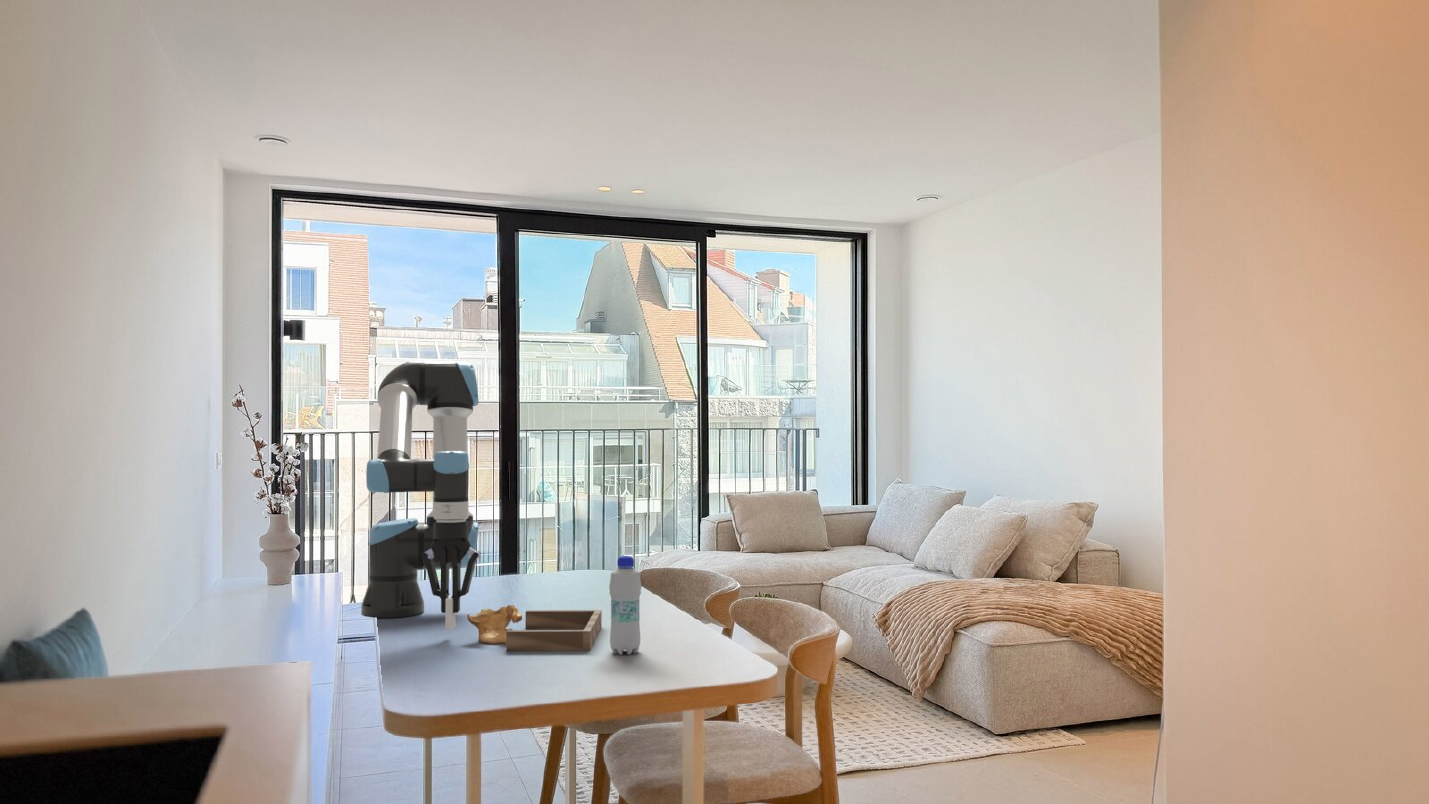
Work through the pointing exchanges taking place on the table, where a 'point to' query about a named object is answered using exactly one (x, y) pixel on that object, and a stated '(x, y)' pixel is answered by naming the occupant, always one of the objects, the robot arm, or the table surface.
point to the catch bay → (556, 631)
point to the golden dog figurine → (494, 623)
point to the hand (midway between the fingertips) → (450, 627)
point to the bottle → (625, 607)
